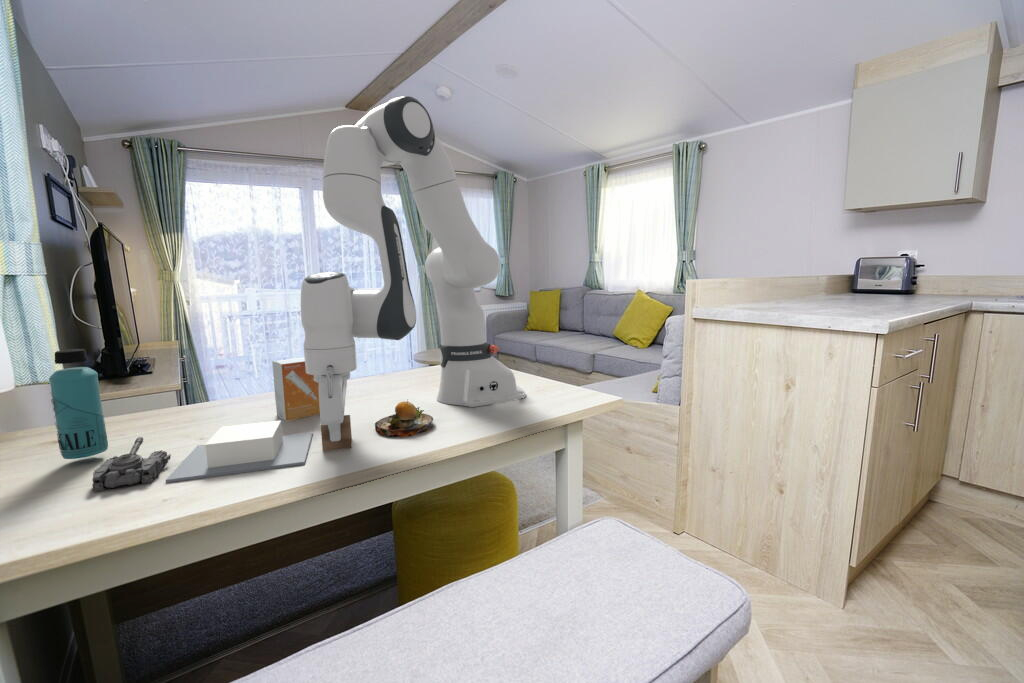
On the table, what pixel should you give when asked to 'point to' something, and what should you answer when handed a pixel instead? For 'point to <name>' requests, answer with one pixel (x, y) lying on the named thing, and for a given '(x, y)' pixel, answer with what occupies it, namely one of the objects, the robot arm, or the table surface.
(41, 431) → the table surface
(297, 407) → the small box
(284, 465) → the plain slate board
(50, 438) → the table surface
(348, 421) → the walnut block
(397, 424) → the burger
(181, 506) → the table surface
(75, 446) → the beverage bottle
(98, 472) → the tank toy
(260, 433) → the white plinth
